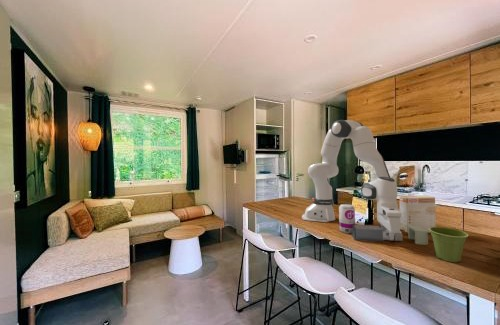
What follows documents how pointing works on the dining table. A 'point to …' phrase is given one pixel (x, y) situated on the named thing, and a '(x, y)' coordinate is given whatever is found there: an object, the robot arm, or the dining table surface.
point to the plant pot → (448, 243)
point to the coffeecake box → (417, 212)
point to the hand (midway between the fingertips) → (387, 235)
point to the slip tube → (396, 237)
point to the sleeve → (367, 233)
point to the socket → (418, 234)
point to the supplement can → (346, 218)
